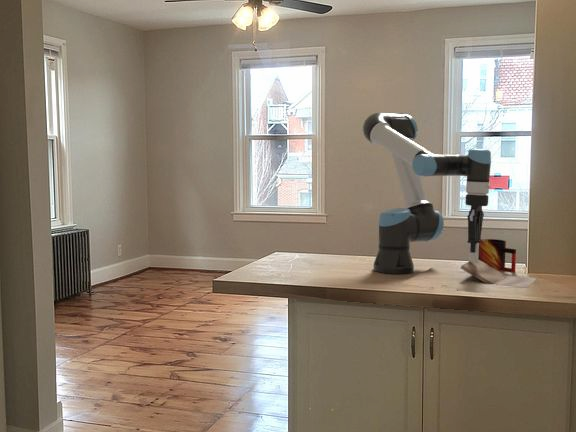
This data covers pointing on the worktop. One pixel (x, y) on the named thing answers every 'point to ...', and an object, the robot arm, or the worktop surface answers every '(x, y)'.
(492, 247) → the mug
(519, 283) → the laid plank
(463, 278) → the worktop surface
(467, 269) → the plank
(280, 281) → the worktop surface
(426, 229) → the robot arm
